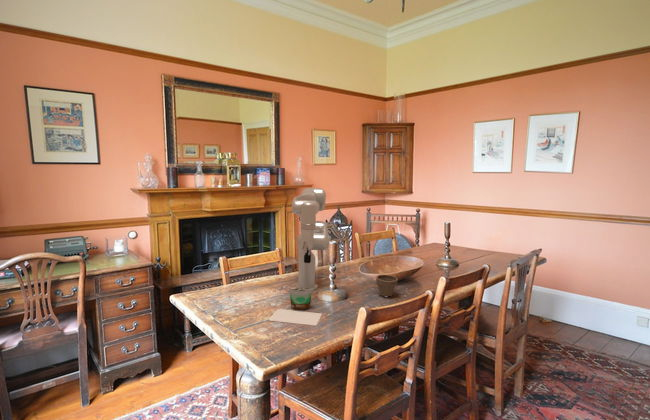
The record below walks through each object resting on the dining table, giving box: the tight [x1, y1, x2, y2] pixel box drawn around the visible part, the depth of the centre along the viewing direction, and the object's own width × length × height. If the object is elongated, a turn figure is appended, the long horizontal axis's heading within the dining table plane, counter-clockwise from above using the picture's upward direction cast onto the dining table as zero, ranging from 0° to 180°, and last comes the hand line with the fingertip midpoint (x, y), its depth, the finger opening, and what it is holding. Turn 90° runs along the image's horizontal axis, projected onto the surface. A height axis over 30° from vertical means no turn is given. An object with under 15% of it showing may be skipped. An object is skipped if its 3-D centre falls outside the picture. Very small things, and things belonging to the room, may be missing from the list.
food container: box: [288, 287, 314, 311], centre depth 175 cm, size 12×6×10 cm, turn 105°
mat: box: [268, 308, 323, 327], centre depth 165 cm, size 13×22×1 cm, turn 79°
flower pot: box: [375, 274, 399, 297], centre depth 196 cm, size 12×11×10 cm
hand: (307, 262), depth 182 cm, fingers closed
